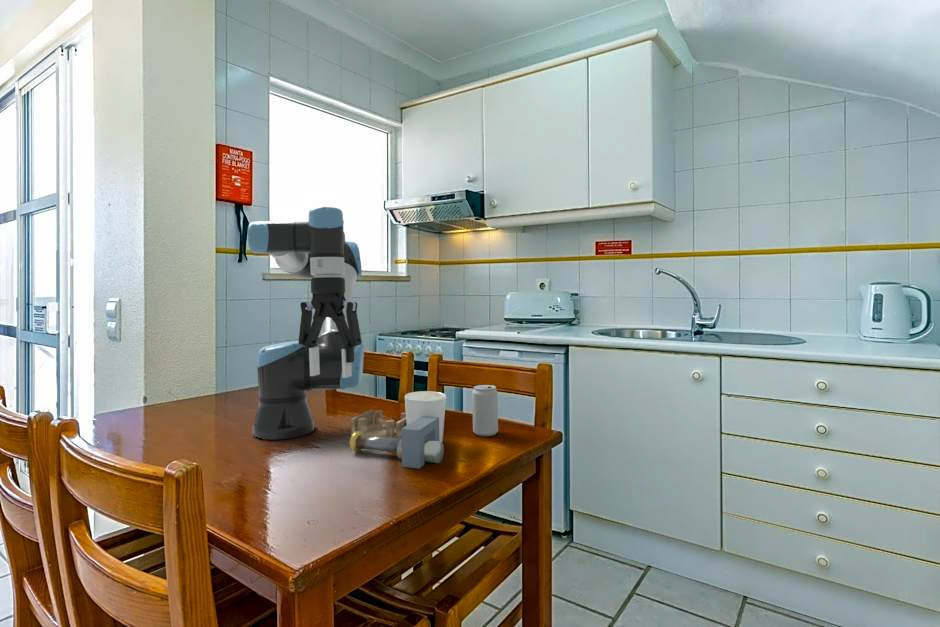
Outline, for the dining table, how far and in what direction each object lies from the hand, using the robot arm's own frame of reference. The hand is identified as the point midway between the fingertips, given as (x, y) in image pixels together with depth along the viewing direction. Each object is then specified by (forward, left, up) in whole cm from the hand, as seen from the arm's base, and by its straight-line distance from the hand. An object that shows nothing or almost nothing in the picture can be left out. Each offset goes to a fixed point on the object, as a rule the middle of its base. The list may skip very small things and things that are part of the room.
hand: (330, 375), depth 119 cm
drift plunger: (+11, 0, -17) cm, 21 cm away
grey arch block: (+23, 0, -17) cm, 28 cm away
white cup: (+19, +10, -18) cm, 28 cm away
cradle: (+8, +10, -17) cm, 21 cm away
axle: (+23, -1, -15) cm, 27 cm away
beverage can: (+30, +22, -17) cm, 41 cm away
